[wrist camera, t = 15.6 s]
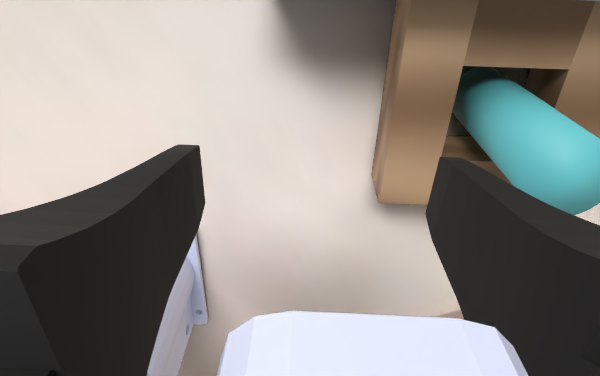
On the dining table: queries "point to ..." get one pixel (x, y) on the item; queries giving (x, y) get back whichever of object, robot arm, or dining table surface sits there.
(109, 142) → the dining table surface
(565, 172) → the dowel
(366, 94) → the dining table surface
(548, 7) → the wooden square frame
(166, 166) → the robot arm
